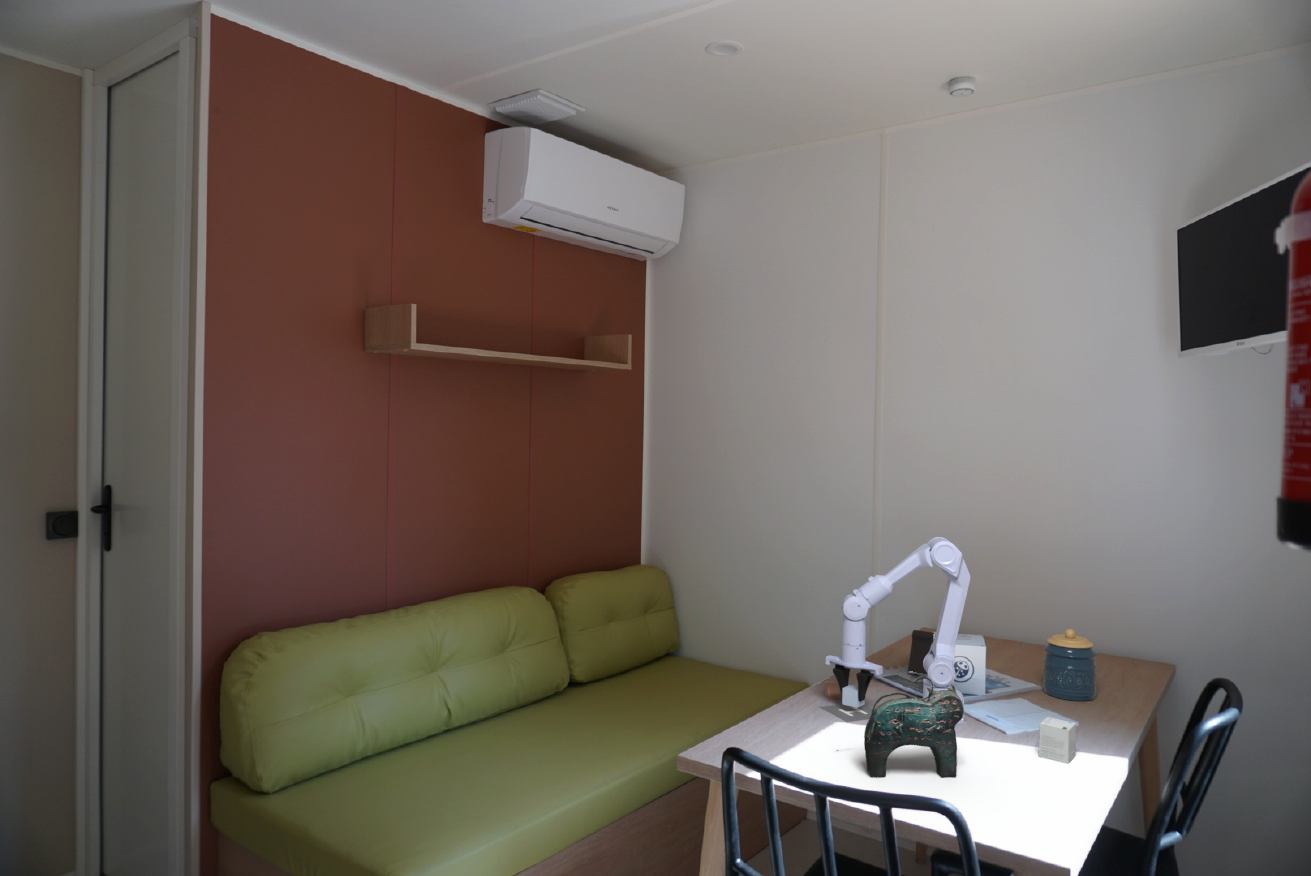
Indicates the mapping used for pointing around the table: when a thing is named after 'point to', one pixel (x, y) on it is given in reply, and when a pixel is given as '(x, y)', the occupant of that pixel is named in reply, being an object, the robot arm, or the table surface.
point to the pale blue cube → (851, 696)
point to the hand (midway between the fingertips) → (853, 698)
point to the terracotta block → (832, 690)
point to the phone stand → (919, 650)
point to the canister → (1070, 667)
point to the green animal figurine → (914, 729)
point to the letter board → (849, 712)
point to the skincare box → (1057, 740)
